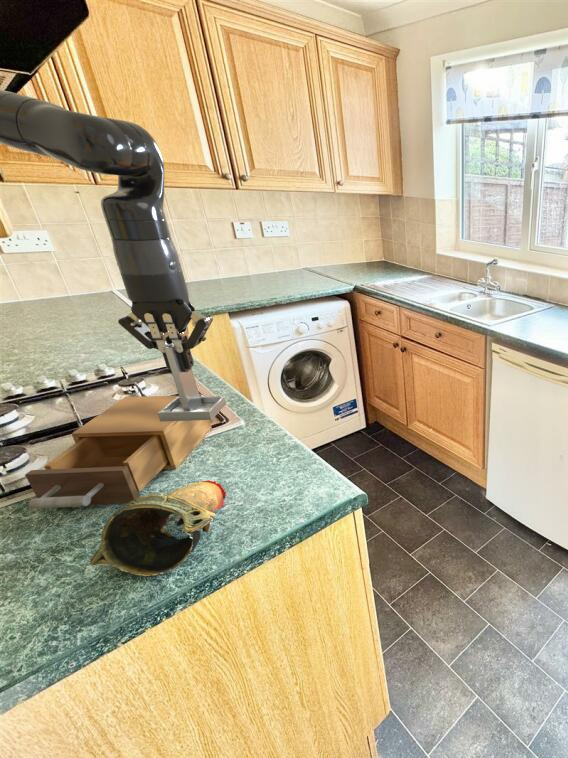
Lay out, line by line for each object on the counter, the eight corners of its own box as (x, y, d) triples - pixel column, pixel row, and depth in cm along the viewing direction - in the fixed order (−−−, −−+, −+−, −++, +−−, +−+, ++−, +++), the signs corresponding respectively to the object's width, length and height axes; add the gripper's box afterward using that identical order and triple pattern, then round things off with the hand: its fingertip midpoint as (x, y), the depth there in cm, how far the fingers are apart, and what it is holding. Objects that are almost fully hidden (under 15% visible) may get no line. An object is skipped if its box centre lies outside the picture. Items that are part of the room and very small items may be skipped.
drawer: (116, 523, 66) (101, 489, 63) (16, 530, 64) (-5, 495, 61) (179, 456, 83) (169, 427, 80) (101, 459, 80) (88, 429, 77)
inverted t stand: (160, 421, 72) (135, 350, 67) (178, 405, 78) (157, 338, 72) (211, 420, 74) (191, 350, 68) (226, 404, 79) (209, 338, 74)
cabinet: (176, 468, 81) (163, 430, 77) (88, 472, 78) (70, 433, 74) (212, 429, 94) (202, 395, 90) (138, 431, 91) (125, 396, 87)
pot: (248, 449, 73) (181, 487, 55) (274, 507, 74) (218, 562, 57) (147, 484, 71) (45, 535, 53) (176, 542, 73) (87, 610, 55)
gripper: (210, 265, 69) (234, 362, 77) (118, 262, 67) (151, 362, 74) (187, 274, 63) (214, 379, 70) (82, 271, 60) (123, 380, 68)
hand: (181, 370), depth 72 cm, fingers closed on inverted t stand, 1 cm apart
